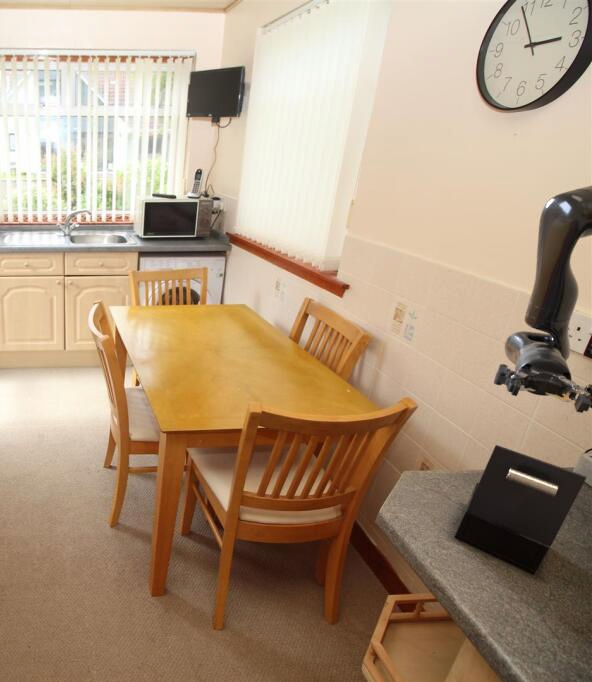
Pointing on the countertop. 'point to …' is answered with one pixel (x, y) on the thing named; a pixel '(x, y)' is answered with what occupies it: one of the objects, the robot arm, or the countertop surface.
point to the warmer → (500, 541)
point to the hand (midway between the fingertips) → (548, 398)
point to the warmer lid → (525, 494)
